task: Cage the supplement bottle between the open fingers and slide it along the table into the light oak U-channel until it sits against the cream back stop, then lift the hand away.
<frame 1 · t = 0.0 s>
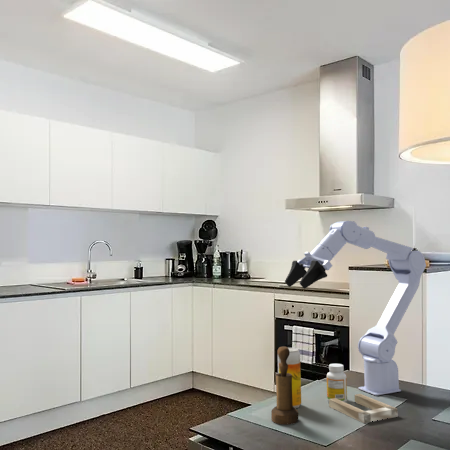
hand: (294, 285, 135), 32 cm above the table, tool tilted 50°, fingers open, 7 cm apart
supplement bottle: (337, 401, 136), on the table
beer can: (290, 406, 132), on the table
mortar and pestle: (284, 421, 121), on the table
slide channel: (360, 410, 127), on the table
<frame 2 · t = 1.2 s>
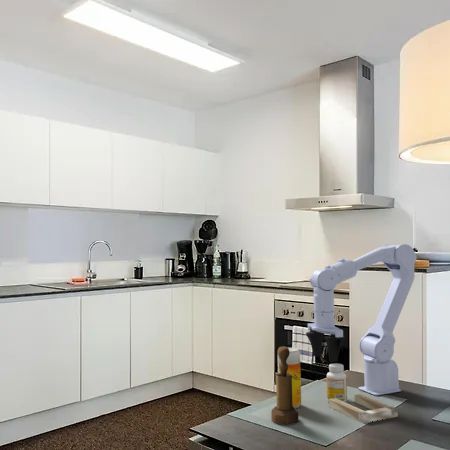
hand: (325, 358, 141), 10 cm above the table, tool pointing down, fingers open, 7 cm apart
nothing on the table moved.
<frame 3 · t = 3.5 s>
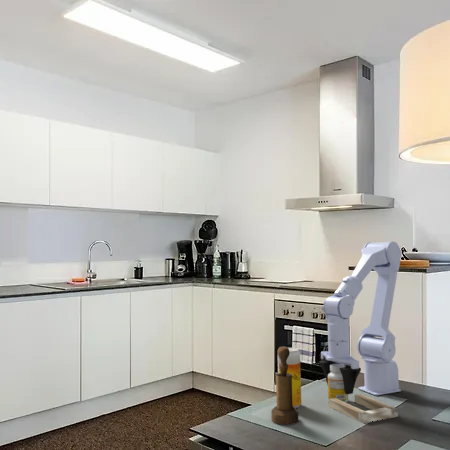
hand: (340, 390, 135), 3 cm above the table, tool pointing down, fingers open, 7 cm apart
supplement bottle: (338, 401, 135), on the table, touching gripper
everything else where it was.
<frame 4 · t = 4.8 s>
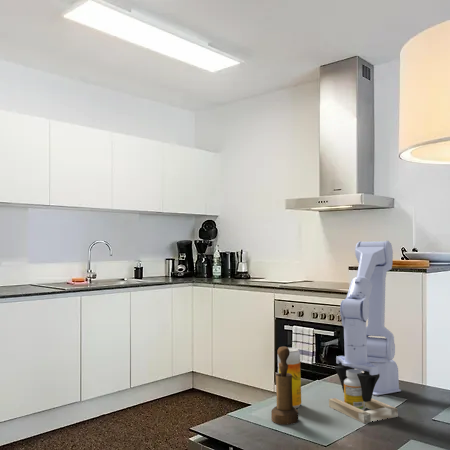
hand: (357, 396, 128), 3 cm above the table, tool pointing down, fingers open, 7 cm apart
supplement bottle: (355, 409, 129), resting in slide channel, touching gripper
everything else where it was.
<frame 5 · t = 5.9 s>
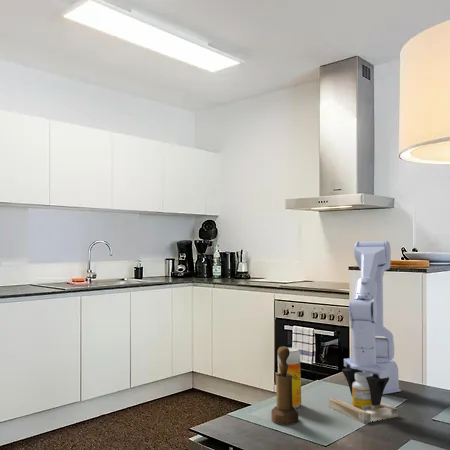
hand: (365, 400, 125), 3 cm above the table, tool pointing down, fingers open, 7 cm apart
supplement bottle: (363, 412, 126), resting in slide channel, touching gripper
everything else where it was.
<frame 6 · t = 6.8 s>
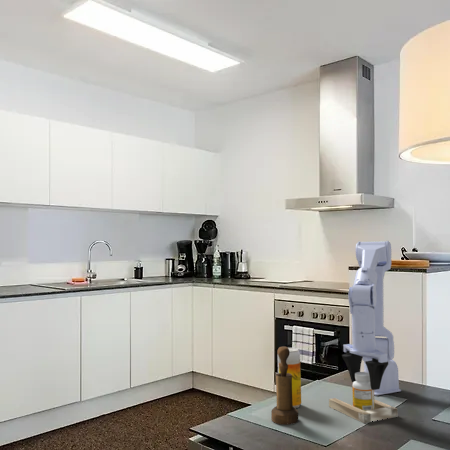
hand: (365, 385, 125), 7 cm above the table, tool pointing down, fingers open, 7 cm apart
nothing on the table moved.
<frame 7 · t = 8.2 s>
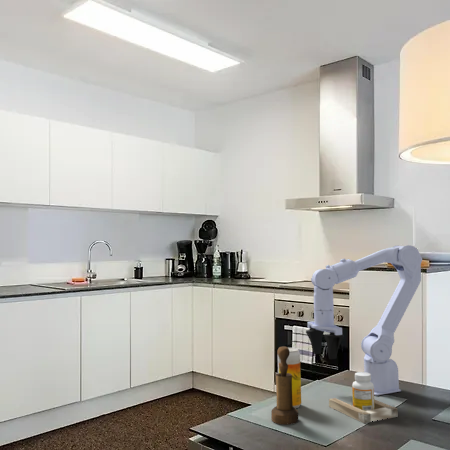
hand: (324, 356, 144), 10 cm above the table, tool pointing down, fingers open, 7 cm apart
supplement bottle: (363, 412, 126), resting in slide channel
everything else where it was.
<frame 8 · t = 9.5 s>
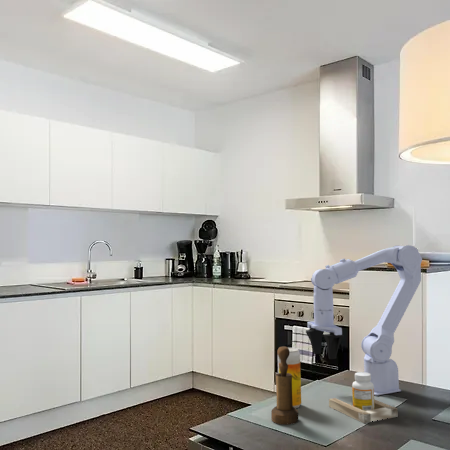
hand: (324, 356, 145), 10 cm above the table, tool pointing down, fingers open, 7 cm apart
nothing on the table moved.
at the end: supplement bottle 0.1 cm from the target spot on the slide channel, point 0.0 cm above the slide channel's base; supplement bottle tilted 0°; the gripper is holding nothing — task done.
